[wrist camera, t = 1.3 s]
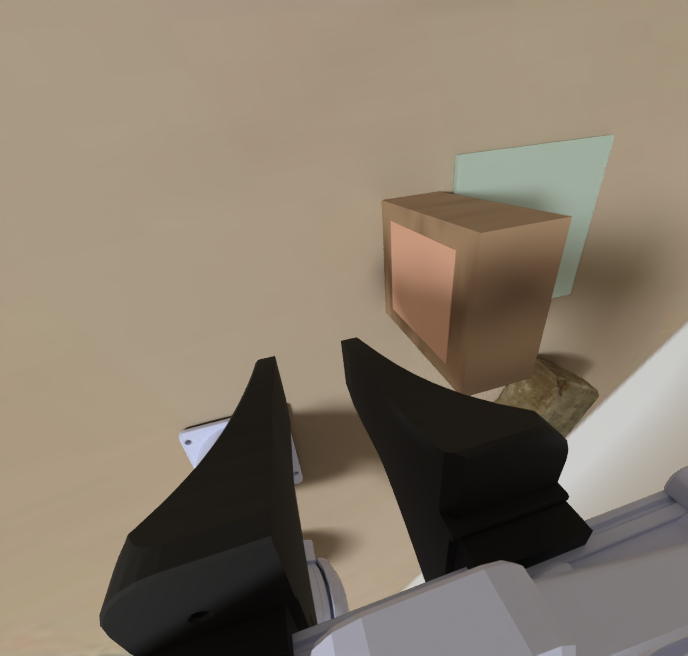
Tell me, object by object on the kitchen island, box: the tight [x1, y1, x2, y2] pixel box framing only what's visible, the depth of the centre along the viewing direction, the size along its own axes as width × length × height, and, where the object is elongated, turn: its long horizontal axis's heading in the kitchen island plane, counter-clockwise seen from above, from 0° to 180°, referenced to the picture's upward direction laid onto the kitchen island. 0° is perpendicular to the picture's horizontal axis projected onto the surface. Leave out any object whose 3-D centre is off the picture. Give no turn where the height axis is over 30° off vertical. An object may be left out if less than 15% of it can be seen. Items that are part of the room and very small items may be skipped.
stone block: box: [494, 358, 599, 438], centre depth 32 cm, size 6×12×5 cm, turn 157°
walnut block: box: [382, 191, 572, 396], centre depth 18 cm, size 8×4×10 cm, turn 6°
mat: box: [453, 135, 615, 298], centre depth 24 cm, size 12×12×1 cm
